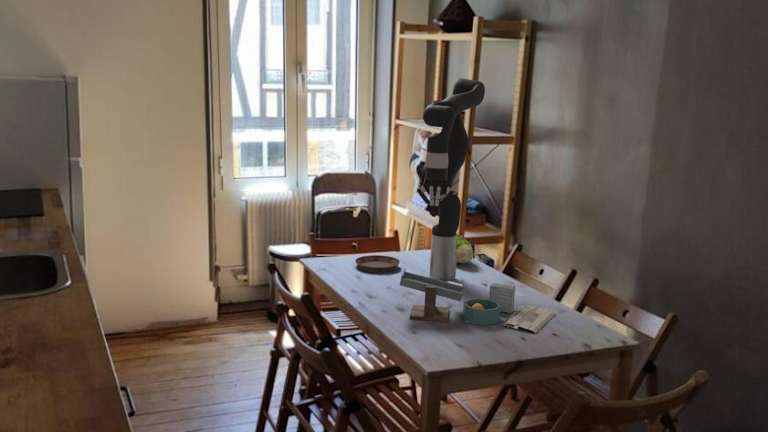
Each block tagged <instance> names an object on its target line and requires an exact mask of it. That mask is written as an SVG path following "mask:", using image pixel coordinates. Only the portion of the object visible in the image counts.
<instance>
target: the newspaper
mask: <svg viewBox="0 0 768 432" xmlns="http://www.w3.org/2000/svg"><path fill="white" fill-rule="evenodd" d="M556 315H557V313H556V312H554V311H552V310H550V309H547V308H543V307H539V306H537V305H536V306H534V305H531V304H527V305H525V306H519V307H518V308H517V309H516V310H515V311H513V312H512V313H511V315H510V317H508V319H509V320H508V319H507V320H508V321H507V320H506V321H505V322H504V323H503V327H505V326H507V327H505V328H509V327H511V328H510V329H512V328H513V327H514V326H515V325H516V326H519V328H522V329H525V330H528V331H531V332H533V333H534V334H535V335H536V334H537V333H538V332H539V331H541V329H543V328H544V327H545V326H546V325H547V324H546V323H547V322H548V321H549V320H550V319H551V318H552V319H553V318H554V317H555V316H556ZM552 319H551V320H552ZM551 320H550V321H551ZM550 321H549V322H550ZM549 322H548V323H549Z"/></svg>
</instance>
